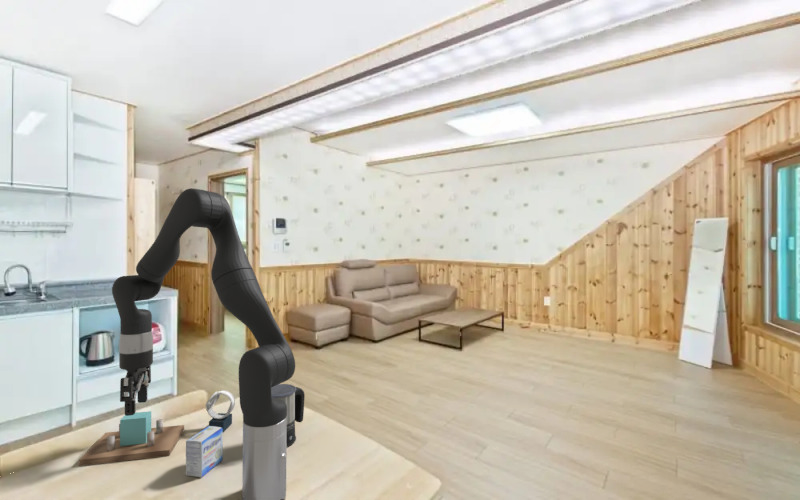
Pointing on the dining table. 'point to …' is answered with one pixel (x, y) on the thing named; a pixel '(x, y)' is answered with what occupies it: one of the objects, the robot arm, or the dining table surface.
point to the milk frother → (290, 406)
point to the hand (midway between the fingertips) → (136, 408)
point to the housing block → (135, 428)
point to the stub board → (133, 446)
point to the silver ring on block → (221, 418)
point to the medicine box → (204, 451)
